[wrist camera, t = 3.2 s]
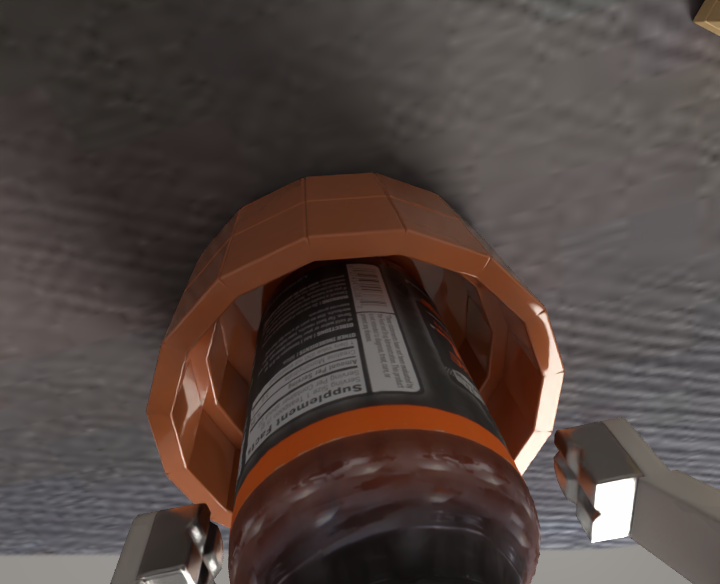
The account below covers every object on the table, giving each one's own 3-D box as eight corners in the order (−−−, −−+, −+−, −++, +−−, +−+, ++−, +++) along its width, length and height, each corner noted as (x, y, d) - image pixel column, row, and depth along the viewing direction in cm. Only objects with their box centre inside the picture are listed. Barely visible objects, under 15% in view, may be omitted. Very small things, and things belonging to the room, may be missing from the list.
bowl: (163, 404, 18) (118, 528, 13) (233, 119, 13) (202, 163, 9) (421, 455, 20) (456, 571, 16) (548, 230, 16) (641, 305, 12)
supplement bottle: (452, 361, 18) (647, 775, 8) (301, 416, 18) (306, 876, 8) (403, 216, 15) (612, 578, 5) (226, 285, 15) (98, 743, 6)
